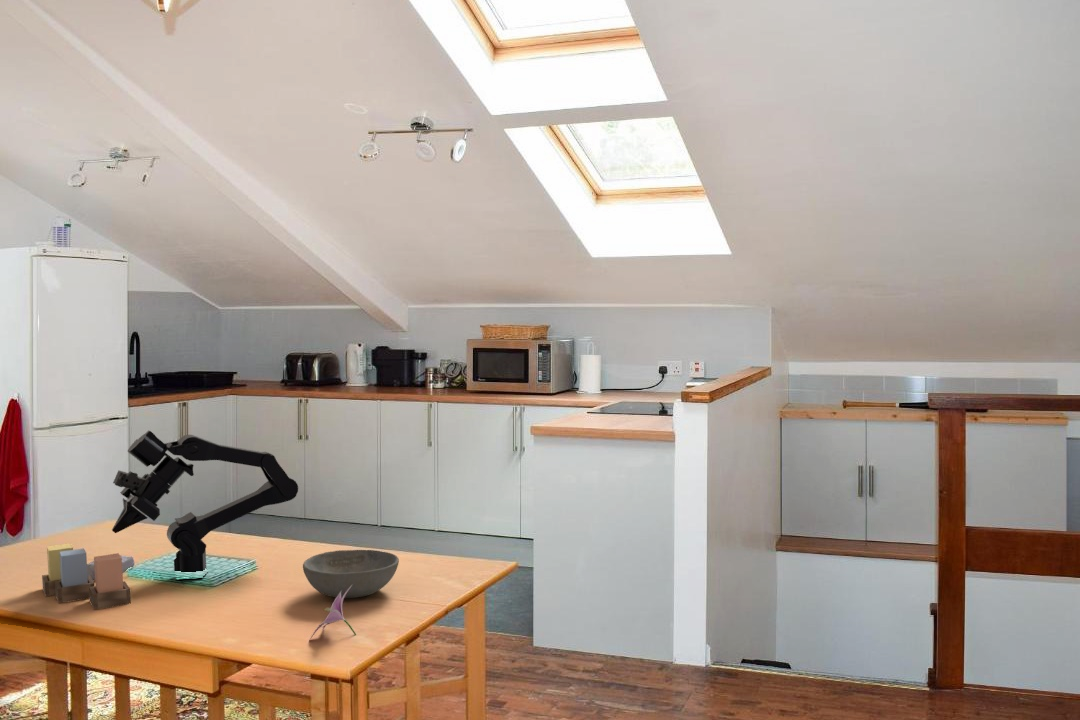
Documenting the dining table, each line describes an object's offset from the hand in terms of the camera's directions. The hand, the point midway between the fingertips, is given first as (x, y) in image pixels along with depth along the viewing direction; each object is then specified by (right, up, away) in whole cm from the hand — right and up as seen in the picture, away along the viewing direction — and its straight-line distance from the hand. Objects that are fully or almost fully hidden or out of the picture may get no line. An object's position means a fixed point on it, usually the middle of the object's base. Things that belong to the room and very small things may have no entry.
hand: (113, 531), depth 216 cm
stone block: (-9, -14, +15) cm, 22 cm away
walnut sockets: (-5, -14, -4) cm, 15 cm away
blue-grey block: (-7, -11, -4) cm, 14 cm away
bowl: (+57, -13, -8) cm, 59 cm away
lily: (+59, -14, -34) cm, 69 cm away
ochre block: (-13, -11, +1) cm, 17 cm away
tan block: (+3, -11, -9) cm, 15 cm away
